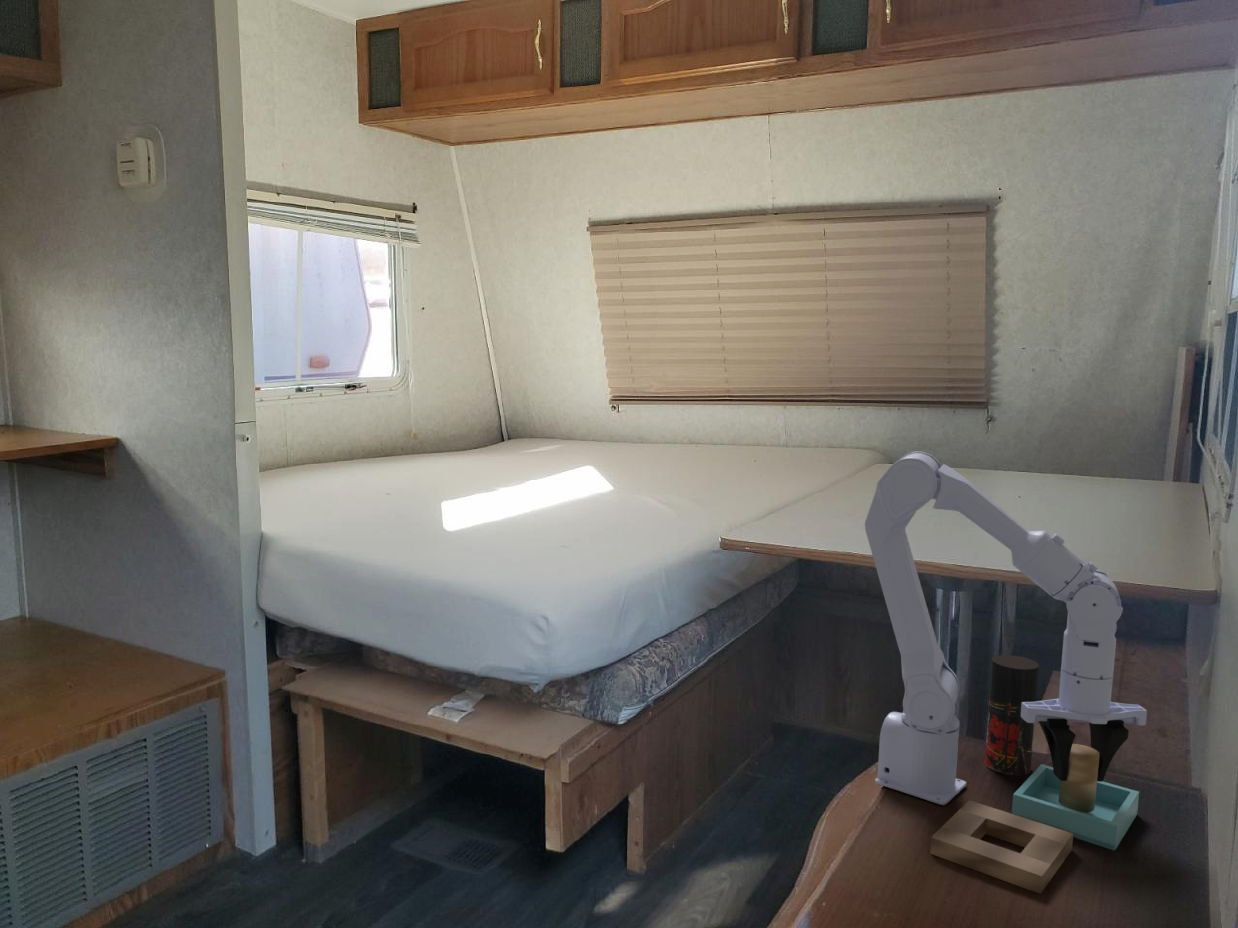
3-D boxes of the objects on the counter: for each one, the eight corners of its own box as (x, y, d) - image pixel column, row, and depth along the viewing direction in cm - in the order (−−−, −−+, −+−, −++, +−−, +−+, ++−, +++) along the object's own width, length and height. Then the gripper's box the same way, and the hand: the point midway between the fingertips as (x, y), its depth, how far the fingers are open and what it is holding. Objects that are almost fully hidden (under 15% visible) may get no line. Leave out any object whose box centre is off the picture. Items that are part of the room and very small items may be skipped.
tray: (1011, 817, 116) (1013, 794, 116) (1039, 785, 125) (1041, 763, 125) (1114, 850, 109) (1116, 826, 108) (1137, 814, 118) (1139, 791, 117)
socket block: (930, 853, 107) (931, 836, 107) (968, 815, 116) (969, 800, 116) (1040, 893, 100) (1042, 876, 99) (1071, 849, 109) (1073, 833, 109)
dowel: (1066, 811, 115) (1071, 756, 114) (1053, 795, 119) (1058, 742, 118) (1100, 813, 114) (1105, 758, 114) (1086, 797, 118) (1091, 744, 117)
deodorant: (978, 756, 134) (985, 654, 132) (1020, 757, 134) (1028, 655, 132) (993, 774, 128) (1001, 668, 126) (1037, 776, 128) (1046, 669, 126)
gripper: (1042, 681, 111) (1033, 791, 112) (1165, 684, 111) (1154, 793, 112) (1016, 661, 118) (1009, 765, 119) (1132, 664, 118) (1123, 767, 119)
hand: (1077, 777), depth 116 cm, fingers closed on dowel, 4 cm apart
